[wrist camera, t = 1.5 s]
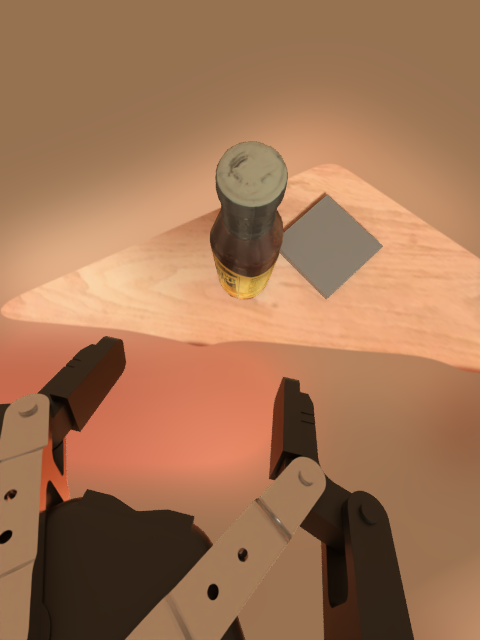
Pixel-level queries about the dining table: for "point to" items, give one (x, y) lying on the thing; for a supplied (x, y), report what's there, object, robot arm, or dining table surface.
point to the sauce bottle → (248, 217)
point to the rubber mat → (327, 246)
